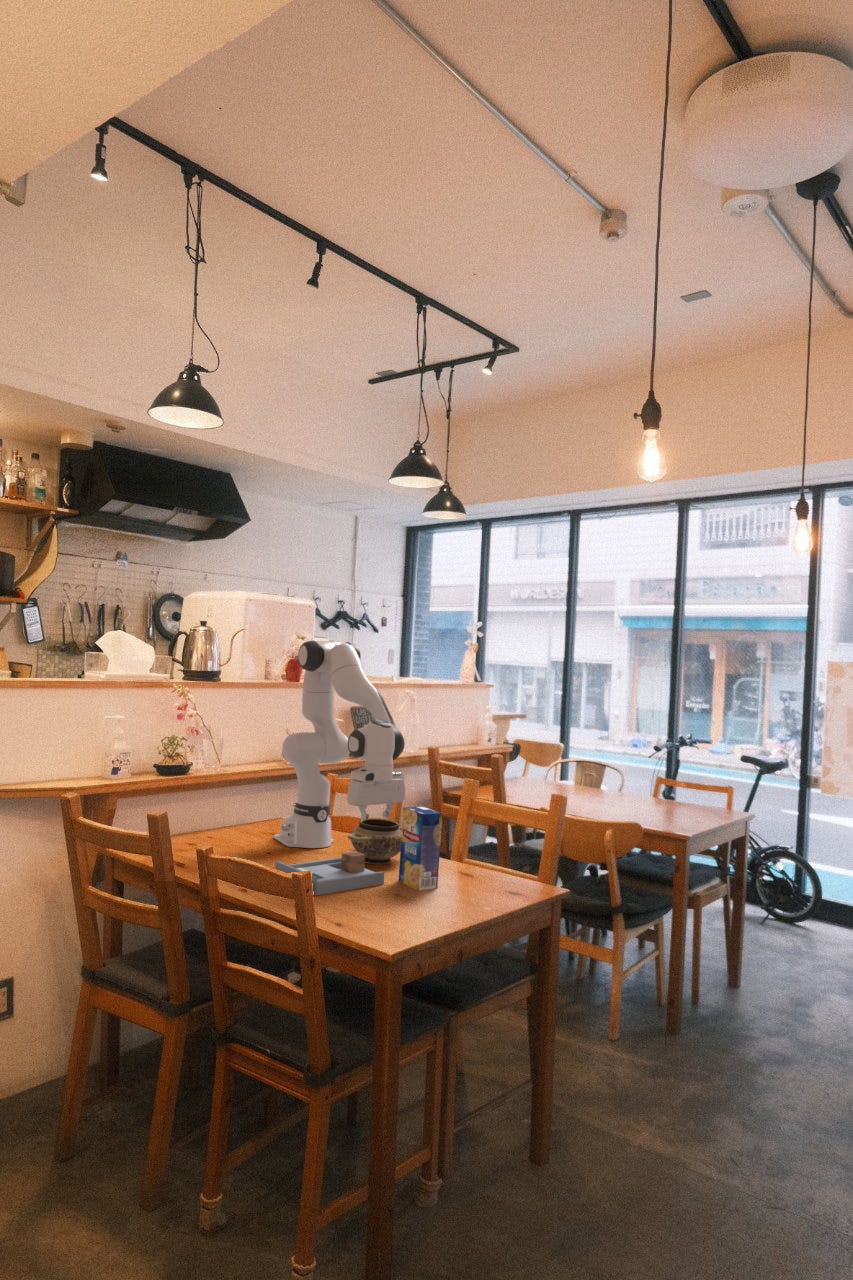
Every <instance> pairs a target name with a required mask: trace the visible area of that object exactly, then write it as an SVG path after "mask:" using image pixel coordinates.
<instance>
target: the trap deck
mask: <svg viewBox="0 0 853 1280" xmlns="http://www.w3.org/2000/svg"><path fill="white" fill-rule="evenodd" d="M341 859H342V857H336V858H335V857H334V858H328V859H322V860H314V861H308V862H299V863H291V864H287V863H285V862H282V861H280V860H276V861H275V867H274V868H275V869H277V870H280V871H283V872H285V873H291V872H304V871H311V873H312V883H313V891H314V895H315V896H321V895H327V894H333V893H339V892H345V891H351V890H357V889H361V888H369V887H374V886H381V885H384V884H385V883H384V882H385V872H384V871H383V870H382V871H377V872H375V871H373V870H371V869H368V868H365V867H364V872H357V873H348V872H346V871H343V870H341ZM275 869H274V870H275ZM315 896H314V897H315Z"/></svg>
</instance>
